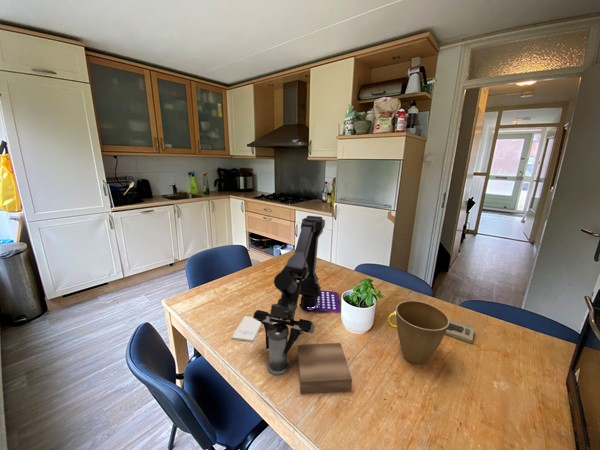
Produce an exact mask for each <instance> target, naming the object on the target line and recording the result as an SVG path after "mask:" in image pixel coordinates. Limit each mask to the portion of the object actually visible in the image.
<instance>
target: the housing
mask: <svg viewBox="0 0 600 450" xmlns="http://www.w3.org/2000/svg"><path fill="white" fill-rule="evenodd" d="M267 335H268V337H269V348H268V362H267V366H266V367H267V371H268V372H269V373H270V374H271V375H273V376H282V375H284V374H286V373H287V372H288V371H289V369H290V360H289V359H288V353H289V352H288V353H287V354H285V350H286V346H287V342H288V339H289V336H290V328H289V326H288V325H285V324H282V323H275V322H274V323H273V324H272V325H270V326H269V327H268V329H267Z"/></svg>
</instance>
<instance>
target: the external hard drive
mask: <svg viewBox="0 0 600 450" xmlns="http://www.w3.org/2000/svg"><path fill="white" fill-rule="evenodd" d="M262 326H263V324H262V323H261V322H260V321H257V320H255V319H254V318H253V316H249V315H245V316H244V317H243V318H242V320H241V321H240V323H239V325H238V326H237V328H236V329H235V331H234V333H233V334H232V335H231V337H230V338H231V339H230V340H235V341H243V342H247V343H254V342H255V341H256V338H257V336H258V334H259V332H260V330H261V328H262Z"/></svg>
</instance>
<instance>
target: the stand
mask: <svg viewBox="0 0 600 450" xmlns="http://www.w3.org/2000/svg"><path fill="white" fill-rule="evenodd" d="M297 364H298V379H299V390H300V392H299V393H300V394H301V395H302V394H303V395H304V394H317V393H321V394H322V393H339V392H352V387H353V386H352V385H353V384H352V383H353V382H352V381H353V378H352V375H351V371H350V369H349V364H348V362H347V359H346V357H345V353H344V350H343V346H342V343H341V342H333V343H332V342H331V343H330V342H328V343H306V344H305V343H304V344H301V343H300V344H297Z"/></svg>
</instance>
